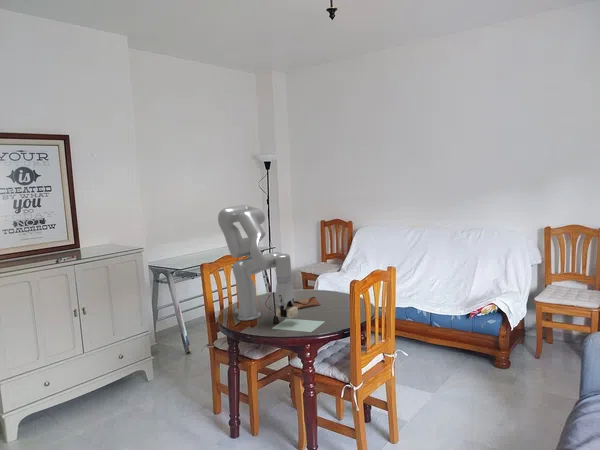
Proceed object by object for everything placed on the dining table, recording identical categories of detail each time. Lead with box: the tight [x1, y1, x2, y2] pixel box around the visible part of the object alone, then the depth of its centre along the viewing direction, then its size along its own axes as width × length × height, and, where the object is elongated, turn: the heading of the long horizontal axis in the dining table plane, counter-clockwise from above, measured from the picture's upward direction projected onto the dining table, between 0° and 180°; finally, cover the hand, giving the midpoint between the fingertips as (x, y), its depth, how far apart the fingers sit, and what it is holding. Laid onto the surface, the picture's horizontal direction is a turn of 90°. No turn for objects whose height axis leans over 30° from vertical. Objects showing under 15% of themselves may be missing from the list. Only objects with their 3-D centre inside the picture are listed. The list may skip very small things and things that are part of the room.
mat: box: [271, 318, 326, 333], centre depth 225 cm, size 22×15×1 cm
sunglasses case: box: [286, 296, 321, 311], centre depth 257 cm, size 18×7×7 cm
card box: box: [275, 305, 299, 319], centre depth 227 cm, size 9×6×4 cm, turn 61°
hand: (287, 314), depth 228 cm, fingers closed on card box, 6 cm apart
